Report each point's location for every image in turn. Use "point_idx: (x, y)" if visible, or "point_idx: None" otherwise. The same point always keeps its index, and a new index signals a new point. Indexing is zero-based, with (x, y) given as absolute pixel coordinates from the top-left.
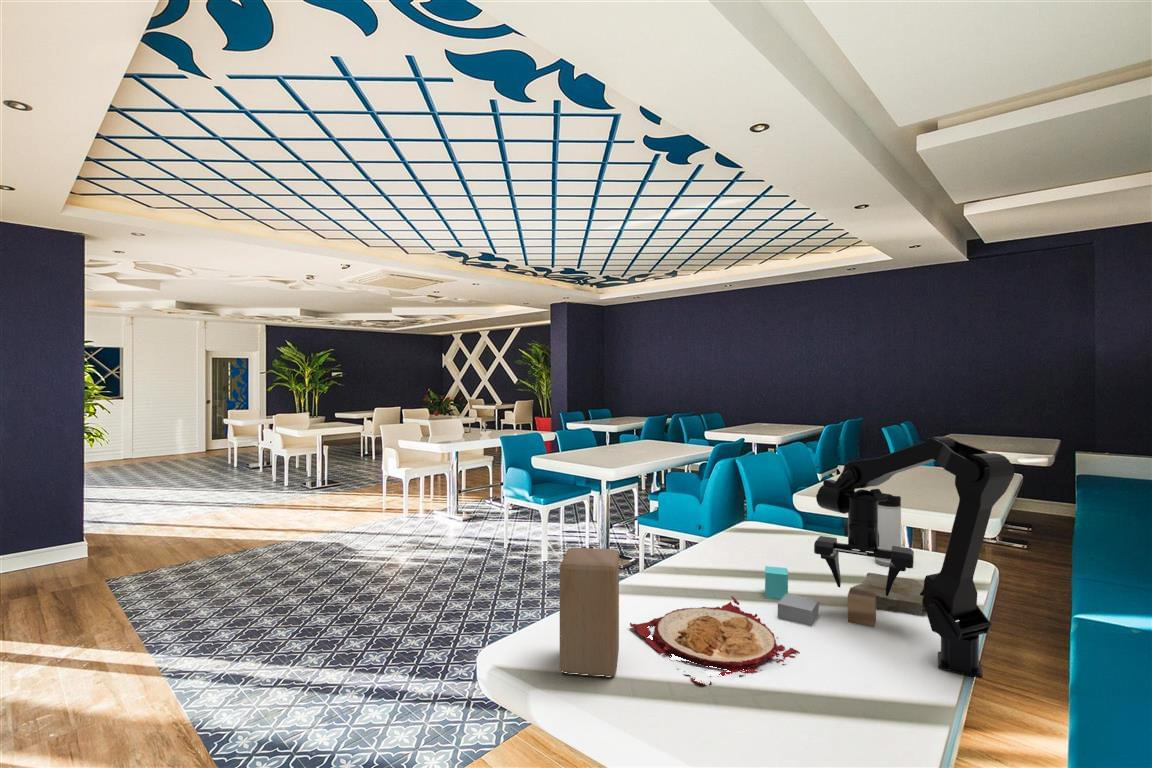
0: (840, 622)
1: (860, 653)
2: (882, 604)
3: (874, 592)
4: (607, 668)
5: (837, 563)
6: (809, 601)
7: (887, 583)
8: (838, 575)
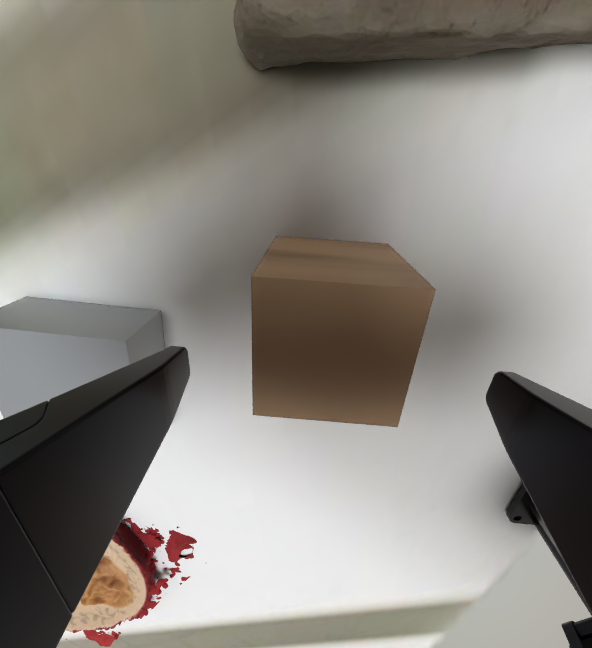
0: (249, 346)
1: (322, 505)
2: (459, 48)
3: (419, 309)
4: None
5: (30, 570)
6: (98, 376)
7: (552, 529)
8: (140, 475)
